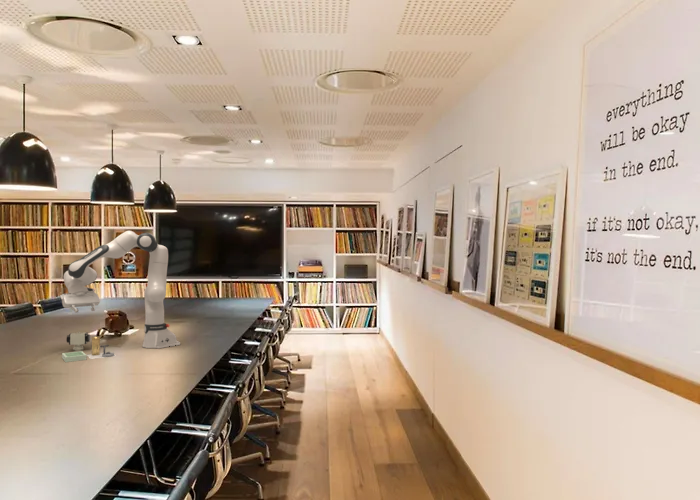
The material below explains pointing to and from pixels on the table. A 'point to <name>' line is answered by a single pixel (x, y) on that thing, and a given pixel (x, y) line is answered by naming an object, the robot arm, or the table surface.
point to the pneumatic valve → (78, 340)
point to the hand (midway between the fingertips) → (85, 311)
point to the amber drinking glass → (96, 345)
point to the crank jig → (102, 354)
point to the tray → (74, 356)
